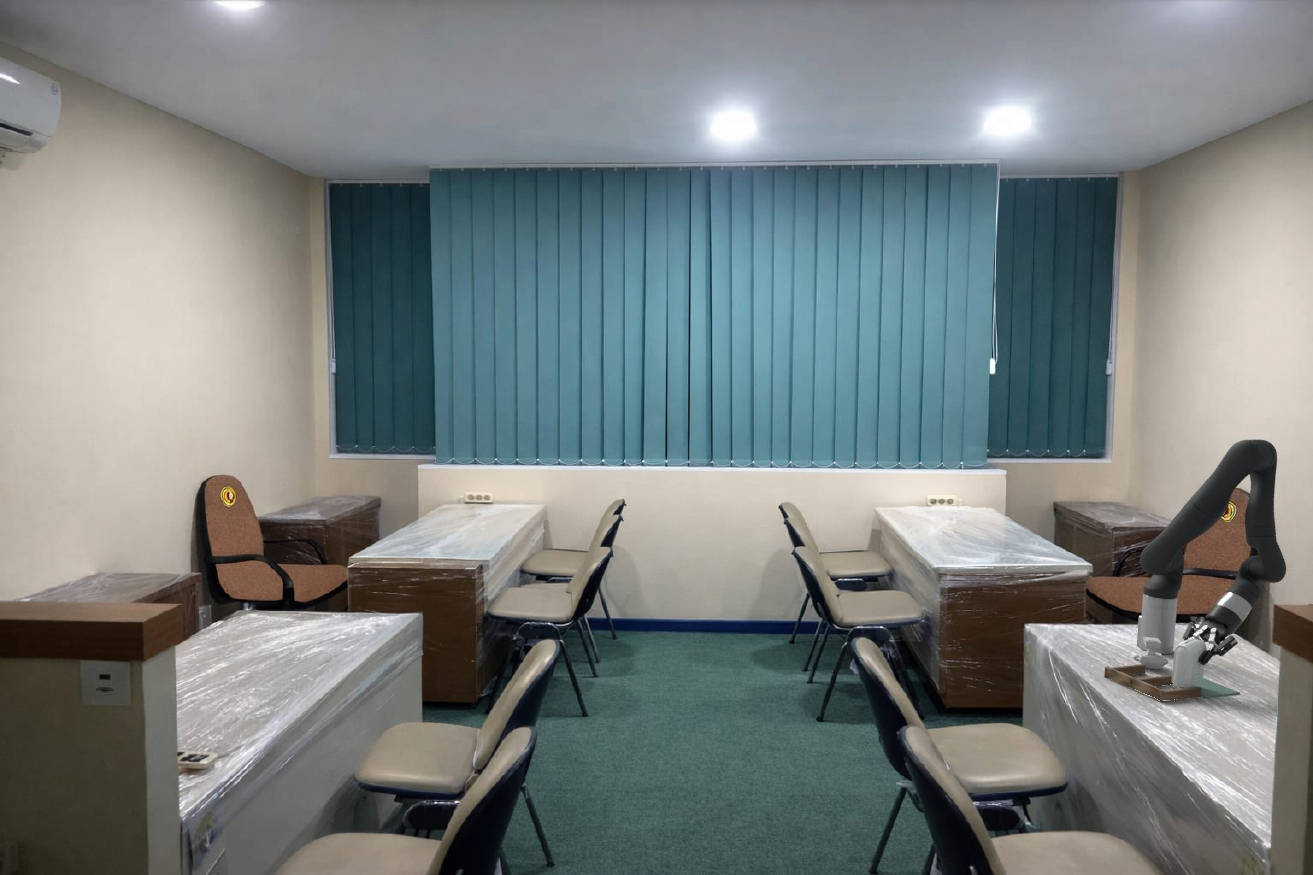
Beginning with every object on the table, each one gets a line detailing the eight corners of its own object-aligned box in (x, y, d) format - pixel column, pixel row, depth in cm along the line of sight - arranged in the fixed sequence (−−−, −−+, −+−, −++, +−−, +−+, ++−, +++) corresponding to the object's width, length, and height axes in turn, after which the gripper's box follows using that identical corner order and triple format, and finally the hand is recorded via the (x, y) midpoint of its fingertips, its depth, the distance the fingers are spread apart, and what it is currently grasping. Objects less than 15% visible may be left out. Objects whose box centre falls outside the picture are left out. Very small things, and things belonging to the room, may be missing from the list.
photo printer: (1189, 677, 247) (1194, 634, 245) (1205, 682, 243) (1210, 639, 241) (1168, 683, 241) (1173, 640, 240) (1184, 689, 238) (1189, 645, 236)
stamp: (1134, 668, 258) (1136, 640, 258) (1131, 661, 265) (1133, 633, 264) (1170, 673, 255) (1172, 644, 255) (1165, 665, 262) (1167, 637, 261)
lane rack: (1104, 676, 251) (1105, 666, 251) (1142, 672, 255) (1143, 662, 255) (1160, 702, 233) (1161, 690, 233) (1201, 696, 237) (1201, 686, 237)
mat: (1167, 682, 248) (1167, 680, 248) (1200, 678, 252) (1200, 676, 252) (1205, 698, 237) (1205, 696, 237) (1239, 693, 240) (1239, 692, 240)
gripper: (1199, 597, 250) (1162, 642, 248) (1246, 611, 237) (1208, 659, 234) (1212, 614, 252) (1176, 659, 250) (1259, 629, 239) (1222, 677, 236)
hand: (1191, 659), depth 242 cm, fingers closed on photo printer, 5 cm apart
